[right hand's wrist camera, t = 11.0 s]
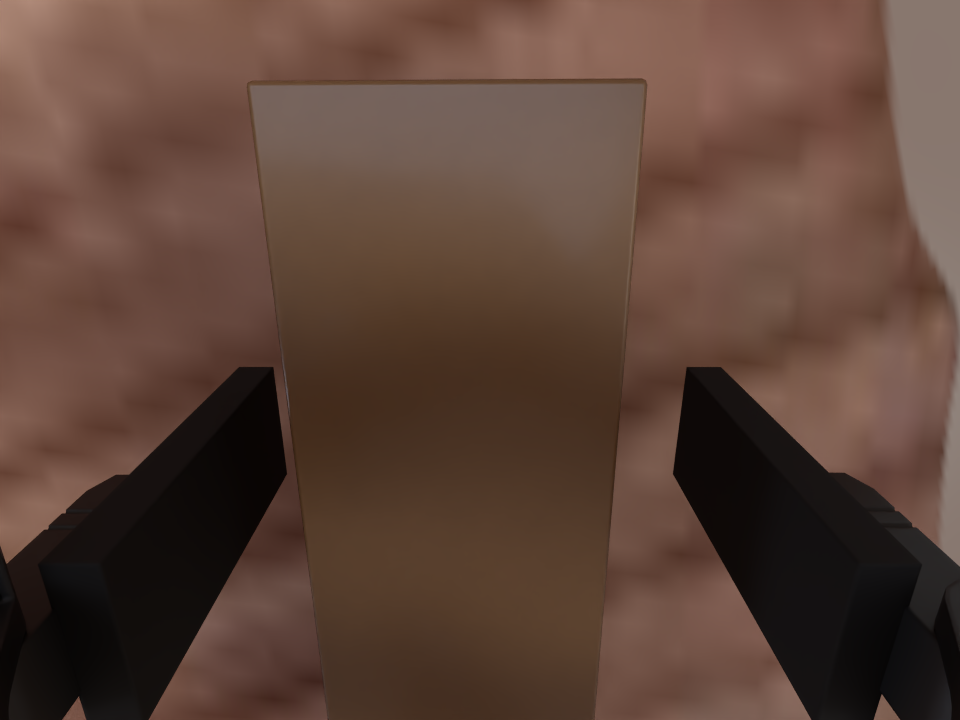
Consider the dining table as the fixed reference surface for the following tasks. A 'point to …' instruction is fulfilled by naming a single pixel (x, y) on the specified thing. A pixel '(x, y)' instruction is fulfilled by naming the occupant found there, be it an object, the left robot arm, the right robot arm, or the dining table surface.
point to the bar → (453, 378)
